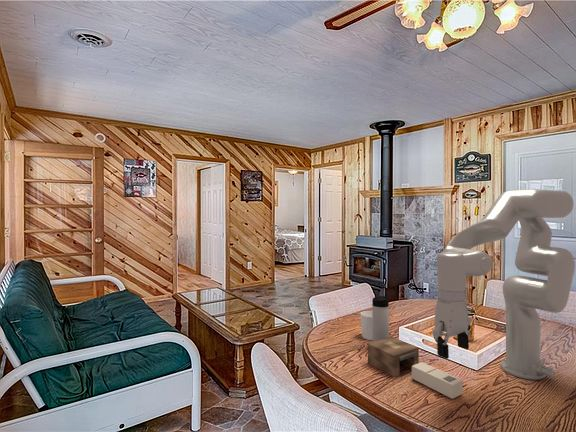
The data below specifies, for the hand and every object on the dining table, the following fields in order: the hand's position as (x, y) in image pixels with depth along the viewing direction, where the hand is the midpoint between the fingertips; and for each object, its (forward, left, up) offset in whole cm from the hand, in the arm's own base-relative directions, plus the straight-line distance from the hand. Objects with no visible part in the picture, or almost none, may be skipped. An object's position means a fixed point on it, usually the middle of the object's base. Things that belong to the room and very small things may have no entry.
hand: (453, 352), depth 101 cm
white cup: (+45, -11, -13) cm, 48 cm away
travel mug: (+35, -7, -13) cm, 38 cm away
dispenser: (+22, +1, -12) cm, 25 cm away
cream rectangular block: (+5, +1, -12) cm, 13 cm away
